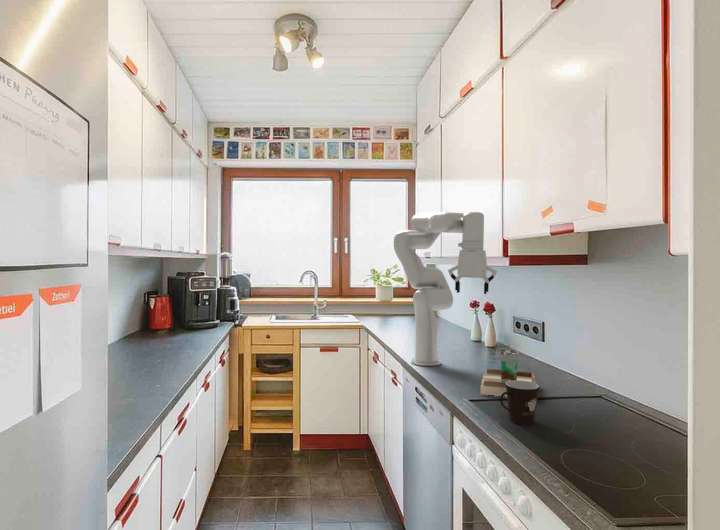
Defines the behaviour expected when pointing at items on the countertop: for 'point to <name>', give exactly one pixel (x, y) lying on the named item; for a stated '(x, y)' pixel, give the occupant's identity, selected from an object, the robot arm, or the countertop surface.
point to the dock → (493, 381)
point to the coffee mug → (521, 401)
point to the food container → (509, 364)
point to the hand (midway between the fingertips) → (471, 293)
